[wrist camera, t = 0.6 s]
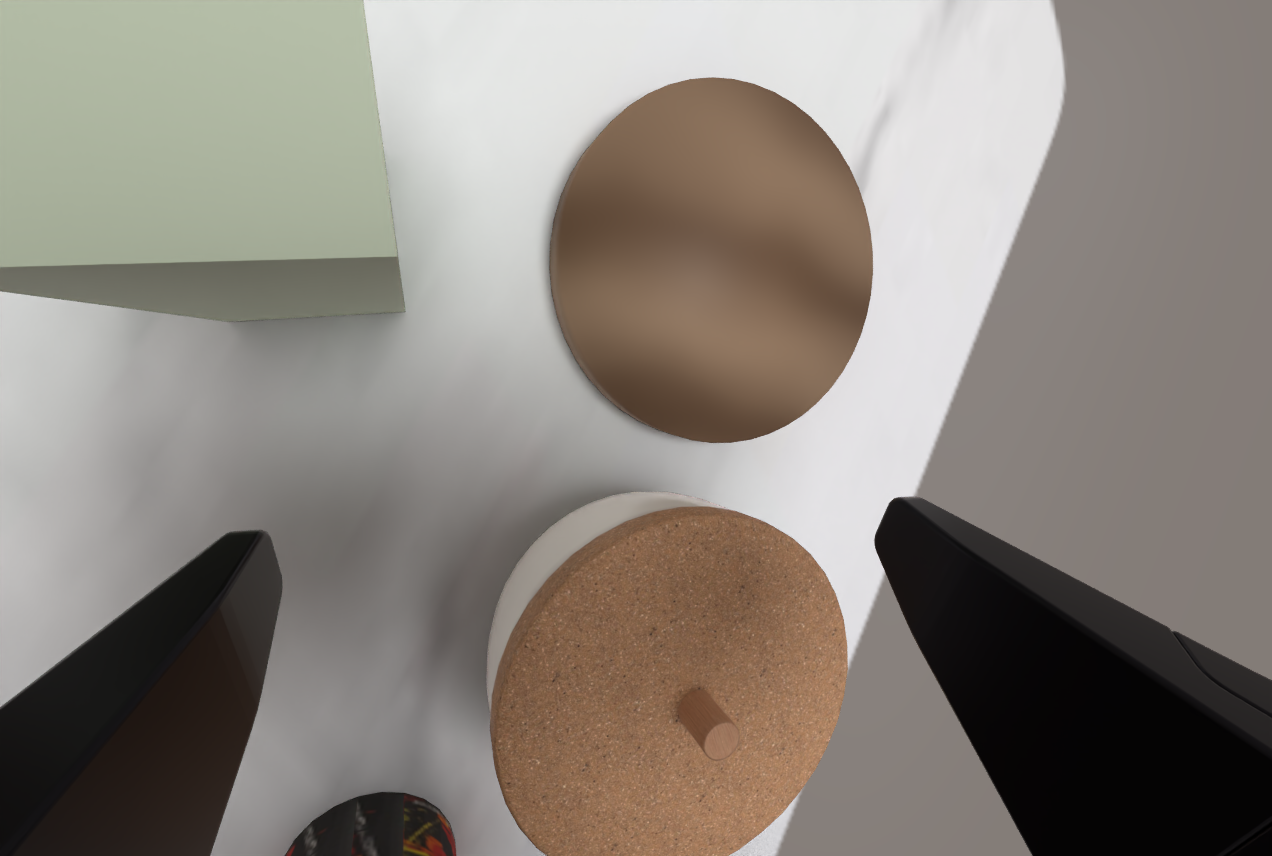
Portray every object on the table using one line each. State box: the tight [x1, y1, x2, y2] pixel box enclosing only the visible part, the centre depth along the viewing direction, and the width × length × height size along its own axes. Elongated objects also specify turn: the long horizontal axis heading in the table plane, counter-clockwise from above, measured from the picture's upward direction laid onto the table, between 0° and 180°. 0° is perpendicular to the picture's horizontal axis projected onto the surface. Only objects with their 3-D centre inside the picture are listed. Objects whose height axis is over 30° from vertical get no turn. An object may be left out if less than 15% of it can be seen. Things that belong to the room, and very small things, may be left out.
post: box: [0, 0, 405, 322], centre depth 12 cm, size 5×5×13 cm
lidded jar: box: [486, 492, 848, 856], centre depth 19 cm, size 11×11×9 cm
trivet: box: [549, 78, 873, 443], centre depth 23 cm, size 13×13×2 cm
